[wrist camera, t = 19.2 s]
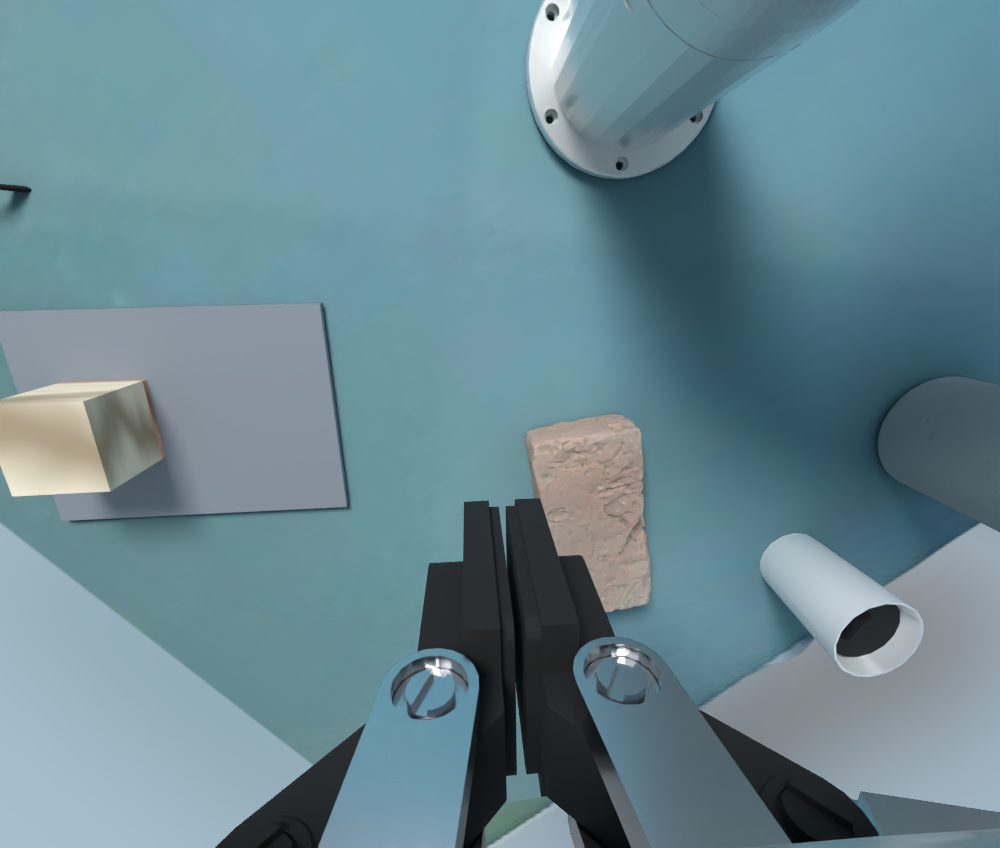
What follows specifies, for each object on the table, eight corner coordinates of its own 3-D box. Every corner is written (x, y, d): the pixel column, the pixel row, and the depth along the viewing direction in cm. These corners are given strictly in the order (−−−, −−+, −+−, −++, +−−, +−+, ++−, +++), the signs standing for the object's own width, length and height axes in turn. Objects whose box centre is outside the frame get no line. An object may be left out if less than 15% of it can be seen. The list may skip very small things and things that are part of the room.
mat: (-2, 311, 33) (-10, 311, 33) (322, 302, 35) (319, 303, 34) (67, 517, 38) (61, 520, 38) (348, 503, 39) (346, 506, 39)
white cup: (751, 594, 45) (827, 681, 36) (758, 532, 43) (841, 607, 33) (820, 587, 45) (913, 672, 36) (830, 525, 43) (932, 597, 34)
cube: (82, 401, 29) (145, 379, 35) (-22, 405, 29) (59, 382, 34) (110, 491, 31) (165, 456, 37) (12, 496, 31) (83, 460, 36)
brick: (638, 577, 44) (657, 611, 40) (549, 593, 44) (558, 629, 39) (622, 406, 39) (642, 424, 34) (521, 424, 39) (528, 444, 34)
